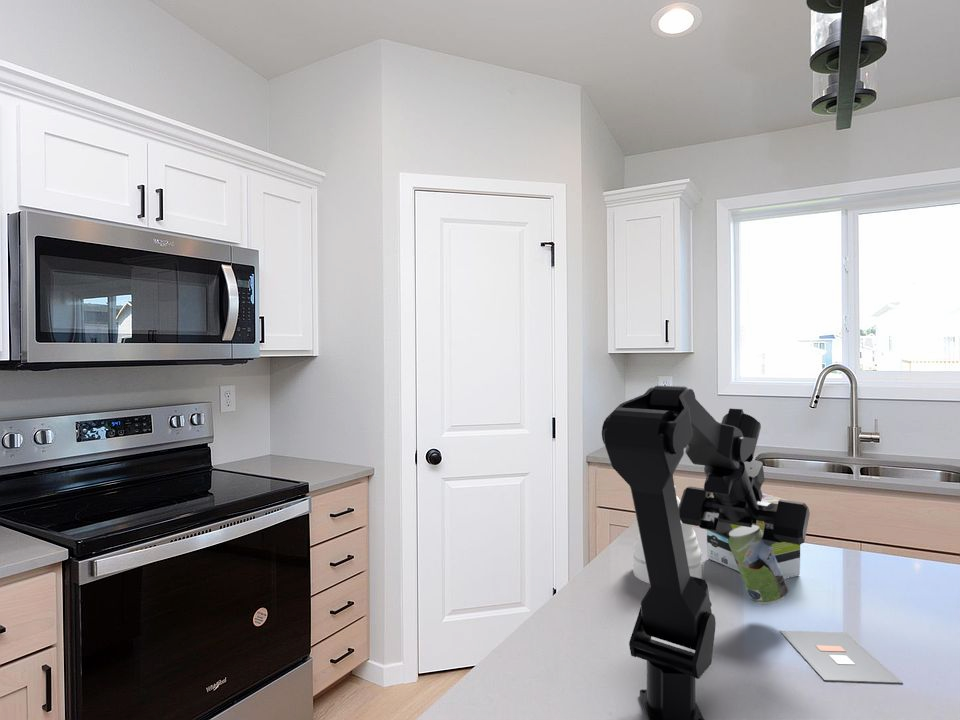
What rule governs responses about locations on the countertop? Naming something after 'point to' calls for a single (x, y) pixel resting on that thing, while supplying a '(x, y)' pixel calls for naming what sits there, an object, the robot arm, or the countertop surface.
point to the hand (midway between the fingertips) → (750, 541)
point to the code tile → (839, 657)
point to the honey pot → (690, 546)
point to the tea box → (783, 551)
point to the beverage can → (757, 565)
